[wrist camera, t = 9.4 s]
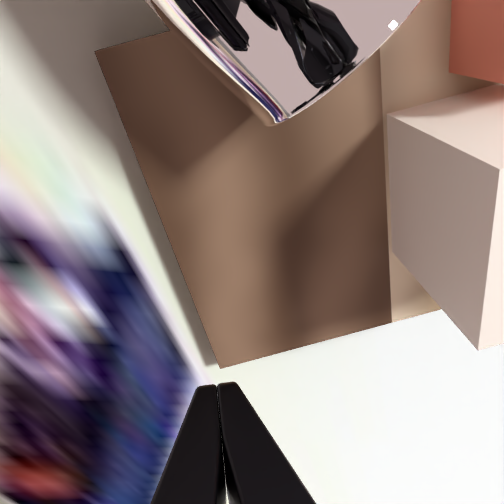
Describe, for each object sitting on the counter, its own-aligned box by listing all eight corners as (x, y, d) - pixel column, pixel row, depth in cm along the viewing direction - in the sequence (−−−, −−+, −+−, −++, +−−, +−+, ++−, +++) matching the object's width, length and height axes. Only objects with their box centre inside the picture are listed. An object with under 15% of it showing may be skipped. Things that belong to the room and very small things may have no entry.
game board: (218, 354, 25) (222, 395, 23) (100, 49, 16) (82, 56, 13) (518, 273, 25) (558, 304, 23) (579, -80, 16) (661, -100, 13)
